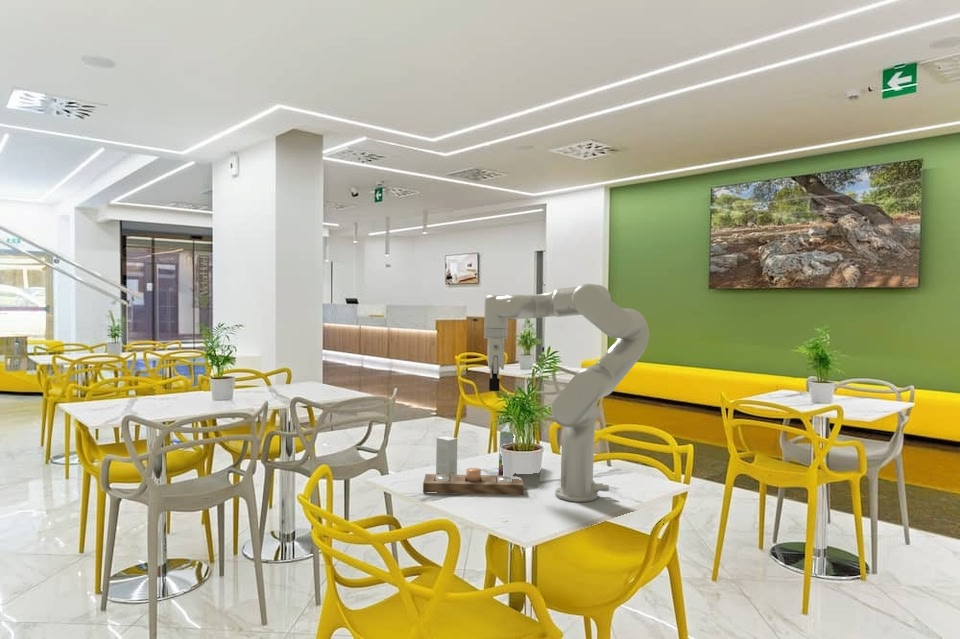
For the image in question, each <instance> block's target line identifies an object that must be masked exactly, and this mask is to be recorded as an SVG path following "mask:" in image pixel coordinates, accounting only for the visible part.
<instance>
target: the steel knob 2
mask: <svg viewBox="0 0 960 639" xmlns="http://www.w3.org/2000/svg"><path fill="white" fill-rule="evenodd" d="M497 482H511V478H510V477H504V476H503V477H498V478H497Z"/></svg>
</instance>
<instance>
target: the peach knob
mask: <svg viewBox="0 0 960 639" xmlns="http://www.w3.org/2000/svg"><path fill="white" fill-rule="evenodd" d="M465 470H466V471H465V472H466V473H465V475H466V481H467V482H480V481H481V475H482V470H481V468H480V467H479V468H477V467H468V468H466V469H465Z"/></svg>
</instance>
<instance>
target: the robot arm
mask: <svg viewBox="0 0 960 639" xmlns="http://www.w3.org/2000/svg"><path fill="white" fill-rule="evenodd" d="M570 316H571V317H572V316H583V317H584V318H585V319H586V321H589V322H590V323H591V324H592V325H593V326H595V327H596V329H599V331H601V332H602V333H604V335H607V336H608V337H609V338H612V339H617V340H616V341H615V342H614V343H613V344H612V345H611V346H610V347H609V348H608V349H607V350H606V352H605V353H604V354H603V355H602V356H601V358H599V360H598V361H597V362H596V363H594V364H592V365H589V366H585V367H583V368H582V369H580V370H579V371H578V372H576V373H575V374H574V376H573V377H572V378H571V379H570V381H569V382H568V383H567V384H566V385H565V387H563V389H562V390H561V391H560V393H559V394H558V395H557V396H556V398H555V399H554V400H553V402H552V405H551V410H550V411H551V416H552V419H553V420H554V422H555V423H556V424H558V425H559V426H561V427H562V433H561V434H562V435H561V458H560V460H561V462H560V466H561V467H560V471H561V472H560V487H558V488H556V489H555V490H554V491H555V492H554V493H555V496H556V497H557V498H558V499H561V500H565V501H569V502H579V503H581V502H586V503H587V502H592V501H595V500H597V499H598V497H599V493H598V492H609V491H610V487H609V484H604V483H601V482H600V483H597V482H595V481H594V460H595V459H594V458H595V457H594V456H595V455H594V453H595V452H594V451H595V450H594V449H595V433H596V421H597V417H598V416H597V415H598V404H597V402H598V401H599V400H601V399H602V398H604V397H605V398H606V397H607V396H609V395H610V394H612V393H613V392H614V390H615V389H616V388H617V387H618V385H619V384H620V382H621V381H622V380H623V379H624V378H625V377H626V375H628V374H629V372H630V371H631V369H632V368H634V366H635V365H636V364H637V362H638V361H639V359H641V357H642V356H643V354H644V353H645V351H646V349H647V346H648V344H649V338H650V331H649V326H648V322H647V321H646V318H645V317H644V316H643V314H642V313H641V312H639V311H638V310H636V309H633V308H627V307H626V308H625V307H623V308H622V307H621V306H619V305H618V304H617V303H615V302H613V301H612V296H611V293H610V291H609V289H607V288H606V287H605V286H603V285H601V284H595V283H585V284H581V285H579V286H572V287H564V288H562V287H561V288H556V289H554V290H553V291H551V292H547V293H540V294H539V293H538V294H529V295H528V294H527V295H526V294H510V295H501V294H499V295H497V294H489V295H486V297H485V298H484V319H483V320H484V321H483V322H484V323H483V339H487V346H486V349H487V352H486V353H487V356H486V357H487V365H488V366H487V367H488V369H489V370H490V371H489V378H488V380H489V382H488V383H489V386H488V390H489V392H500V379H501V378H500V369H501V370H502V371H504V369H505V340H506V339H508V330H509V329H508V327H509V319H511V320H520V319H521V320H523V319H524V320H526V319H535V318H536V319H537V318H539V319H540V318H549V317H556V318H560V317H561V318H562V317H570Z"/></svg>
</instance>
